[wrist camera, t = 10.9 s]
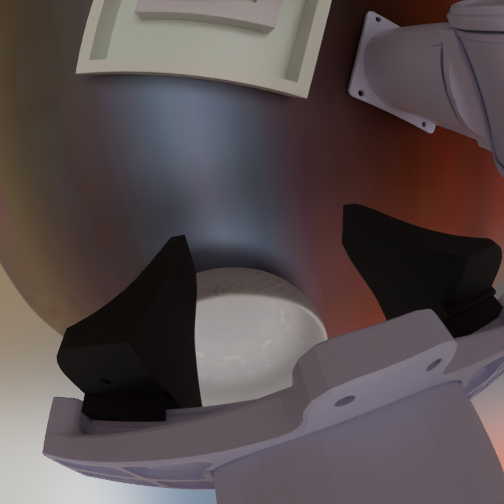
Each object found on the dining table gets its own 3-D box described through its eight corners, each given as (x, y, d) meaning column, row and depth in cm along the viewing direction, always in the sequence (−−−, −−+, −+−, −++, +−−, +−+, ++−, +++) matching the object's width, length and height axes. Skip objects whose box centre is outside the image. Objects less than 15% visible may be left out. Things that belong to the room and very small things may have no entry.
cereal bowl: (275, 362, 34) (287, 409, 28) (143, 351, 29) (137, 403, 24) (332, 255, 25) (365, 306, 19) (147, 224, 21) (128, 279, 15)
